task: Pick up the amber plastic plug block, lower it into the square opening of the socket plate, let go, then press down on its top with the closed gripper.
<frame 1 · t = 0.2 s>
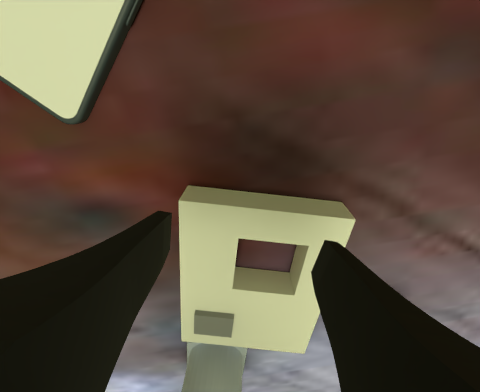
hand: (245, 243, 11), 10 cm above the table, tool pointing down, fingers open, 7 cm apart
socket plate: (252, 268, 24), on the table
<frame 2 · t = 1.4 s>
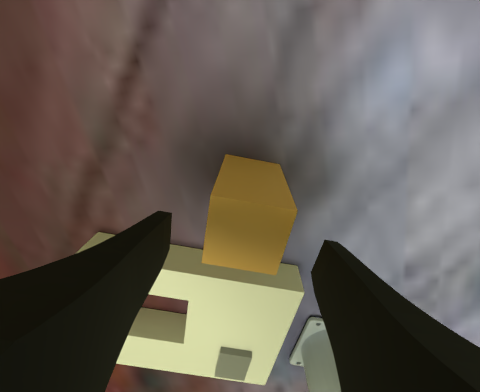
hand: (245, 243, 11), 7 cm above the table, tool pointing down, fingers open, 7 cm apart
plug: (247, 184, 17), on the table
socket plate: (192, 302, 23), on the table
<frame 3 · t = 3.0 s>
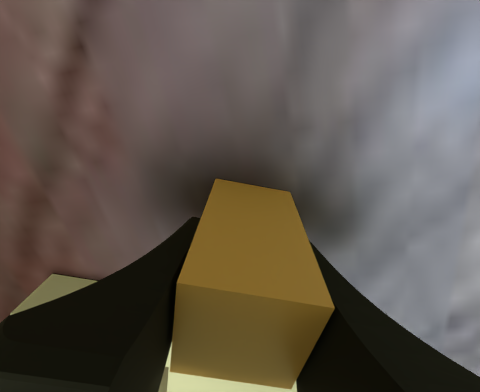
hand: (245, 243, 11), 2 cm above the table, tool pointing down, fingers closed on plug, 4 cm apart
plug: (246, 217, 13), on the table, touching gripper
socket plate: (178, 353, 19), on the table
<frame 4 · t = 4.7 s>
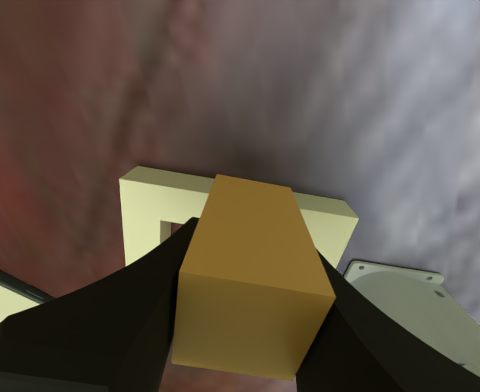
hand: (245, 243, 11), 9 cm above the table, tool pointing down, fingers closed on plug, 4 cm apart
plug: (246, 212, 13), point 7 cm above the table, touching gripper
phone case: (45, 310, 29), on the table
socket plate: (230, 247, 22), on the table
when the fingers open (4 cm above the table, at t = 6.7 s): plug drops 1 cm, resting in socket plate.
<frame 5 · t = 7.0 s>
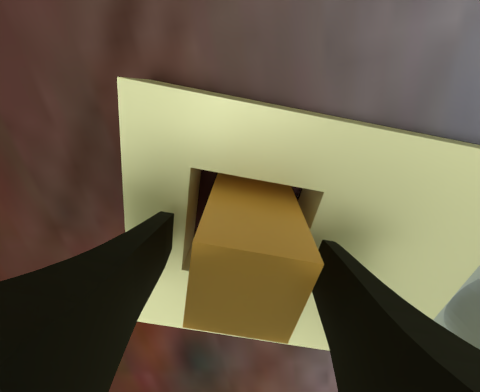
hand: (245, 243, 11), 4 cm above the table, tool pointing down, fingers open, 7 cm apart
plug: (247, 202, 14), resting in socket plate
socket plate: (289, 228, 14), on the table
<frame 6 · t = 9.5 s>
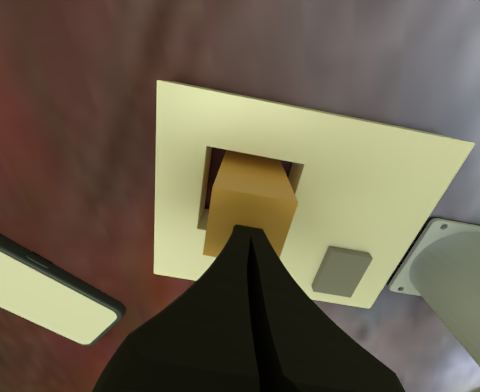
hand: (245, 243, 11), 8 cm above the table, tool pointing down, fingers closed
plug: (248, 179, 17), resting in socket plate
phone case: (48, 285, 24), on the table
socket plate: (281, 200, 18), on the table
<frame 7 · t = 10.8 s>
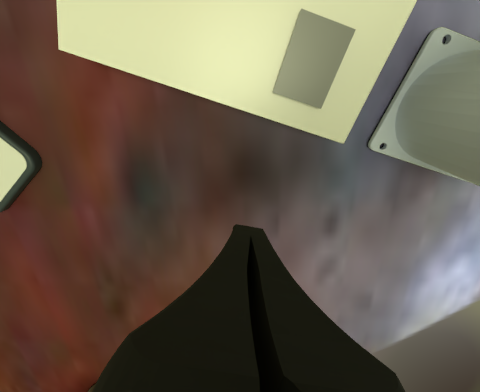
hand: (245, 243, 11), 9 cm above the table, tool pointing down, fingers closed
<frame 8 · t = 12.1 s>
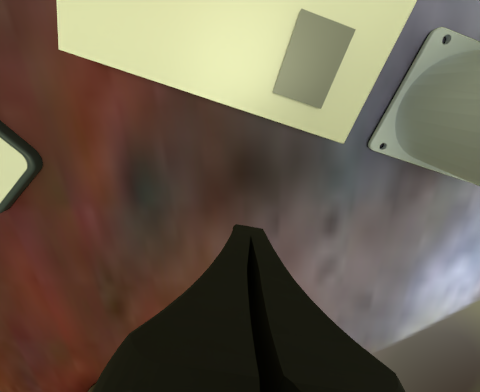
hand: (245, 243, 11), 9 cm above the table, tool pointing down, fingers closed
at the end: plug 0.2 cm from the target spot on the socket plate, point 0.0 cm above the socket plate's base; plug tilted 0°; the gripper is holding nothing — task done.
